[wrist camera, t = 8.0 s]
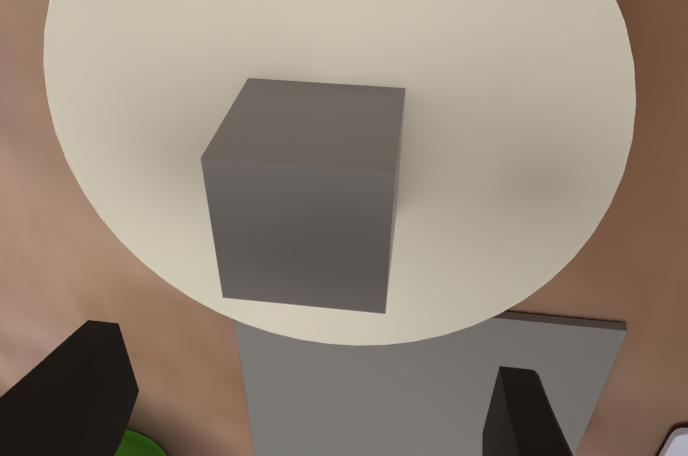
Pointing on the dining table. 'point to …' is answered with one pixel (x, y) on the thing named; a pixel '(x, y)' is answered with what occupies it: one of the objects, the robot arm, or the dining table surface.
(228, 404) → the dining table surface
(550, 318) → the mat
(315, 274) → the lid
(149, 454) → the cup
